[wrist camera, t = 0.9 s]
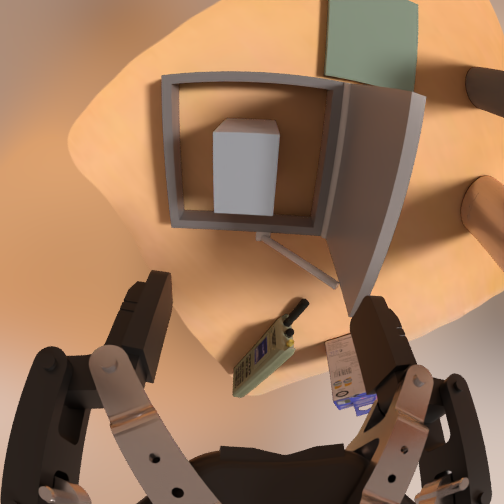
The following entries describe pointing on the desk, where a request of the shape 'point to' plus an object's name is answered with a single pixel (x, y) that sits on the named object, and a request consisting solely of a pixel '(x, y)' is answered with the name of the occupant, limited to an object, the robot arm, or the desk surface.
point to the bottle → (486, 89)
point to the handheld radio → (267, 353)
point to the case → (324, 175)
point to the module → (245, 166)
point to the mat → (372, 42)
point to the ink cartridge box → (346, 375)
